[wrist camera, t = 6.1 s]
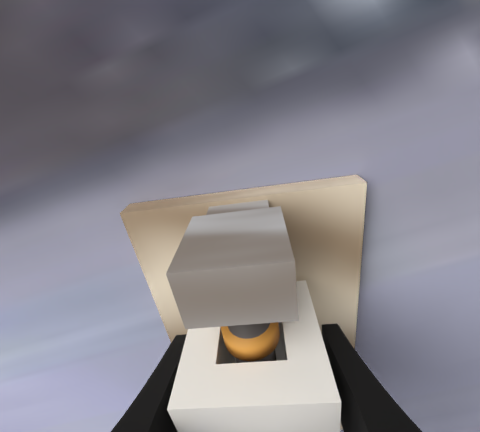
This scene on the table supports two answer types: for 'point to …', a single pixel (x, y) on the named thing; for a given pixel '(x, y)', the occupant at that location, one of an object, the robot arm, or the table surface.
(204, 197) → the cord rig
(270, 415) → the cord end block
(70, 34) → the table surface
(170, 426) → the robot arm
